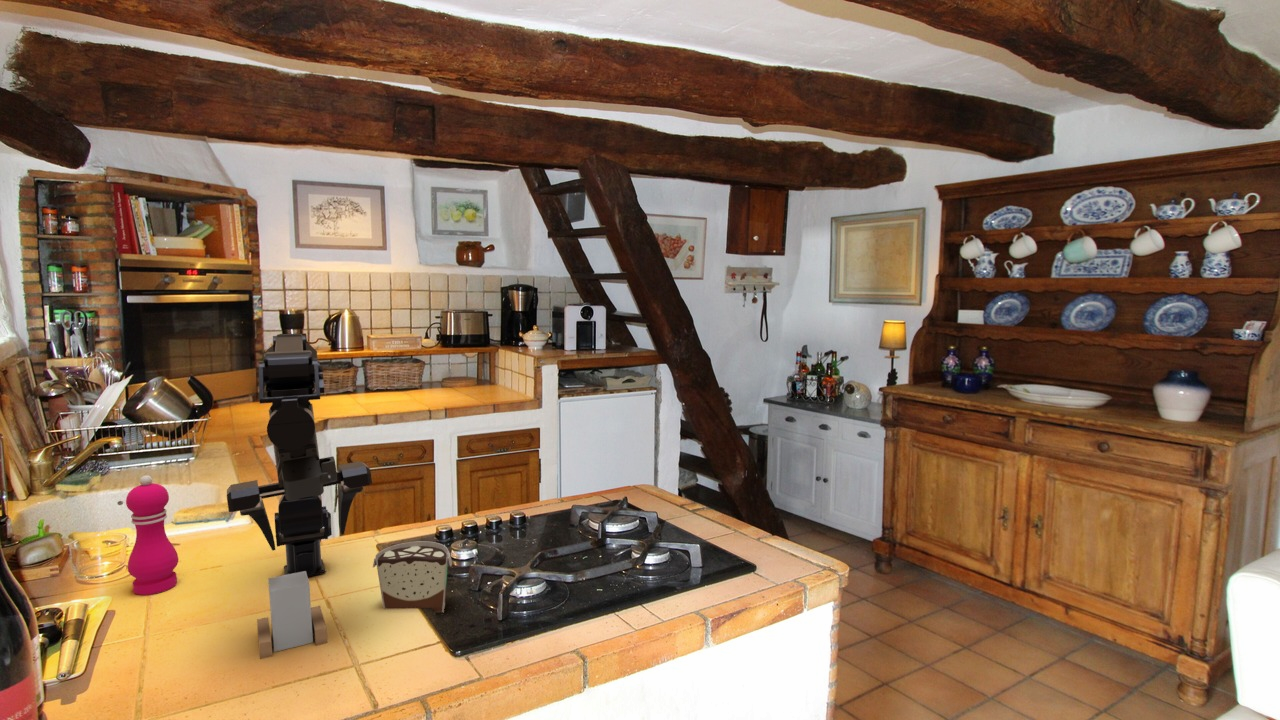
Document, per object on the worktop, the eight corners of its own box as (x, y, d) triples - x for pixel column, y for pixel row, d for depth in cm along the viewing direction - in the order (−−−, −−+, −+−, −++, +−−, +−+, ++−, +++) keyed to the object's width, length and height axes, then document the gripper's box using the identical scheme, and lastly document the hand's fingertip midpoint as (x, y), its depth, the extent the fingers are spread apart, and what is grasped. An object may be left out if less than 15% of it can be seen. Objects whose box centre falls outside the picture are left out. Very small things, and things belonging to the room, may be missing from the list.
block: (272, 636, 103) (268, 578, 102) (309, 627, 106) (305, 570, 105) (274, 652, 99) (270, 591, 98) (313, 642, 102) (309, 583, 101)
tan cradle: (258, 639, 104) (256, 619, 104) (321, 625, 109) (320, 605, 108) (262, 691, 92) (261, 668, 91) (334, 672, 96) (332, 650, 95)
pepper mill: (125, 587, 122) (114, 475, 119) (173, 574, 127) (164, 467, 124) (135, 600, 117) (124, 484, 114) (185, 586, 122) (176, 475, 119)
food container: (461, 596, 118) (459, 539, 117) (452, 613, 112) (450, 554, 111) (387, 597, 118) (384, 540, 117) (375, 615, 112) (372, 555, 111)
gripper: (219, 460, 90) (236, 576, 92) (371, 434, 99) (384, 540, 101) (221, 446, 100) (236, 552, 101) (359, 424, 109) (371, 521, 111)
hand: (308, 541), depth 103 cm, fingers open, 9 cm apart
